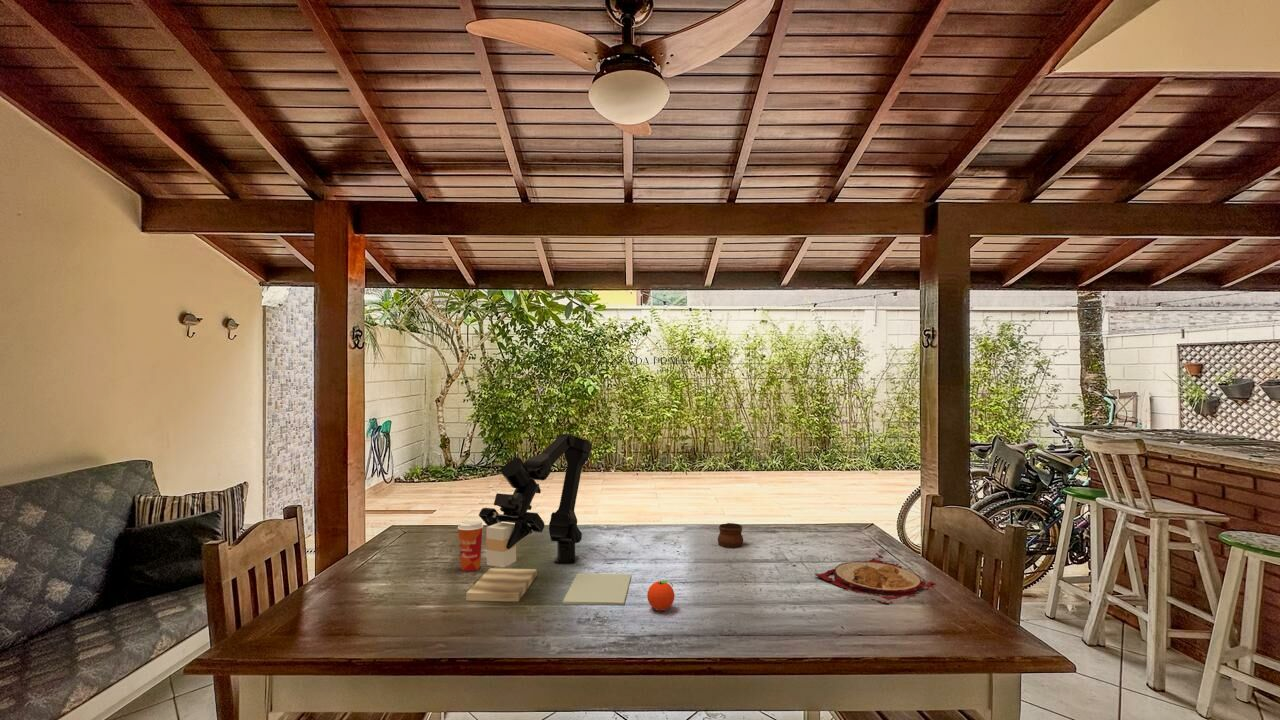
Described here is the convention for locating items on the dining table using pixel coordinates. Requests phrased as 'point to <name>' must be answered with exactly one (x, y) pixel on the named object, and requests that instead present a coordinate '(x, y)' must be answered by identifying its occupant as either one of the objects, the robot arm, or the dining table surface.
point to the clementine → (660, 595)
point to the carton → (500, 545)
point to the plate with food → (876, 579)
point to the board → (502, 585)
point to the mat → (598, 589)
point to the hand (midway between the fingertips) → (498, 547)
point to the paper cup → (470, 544)
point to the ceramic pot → (730, 535)
